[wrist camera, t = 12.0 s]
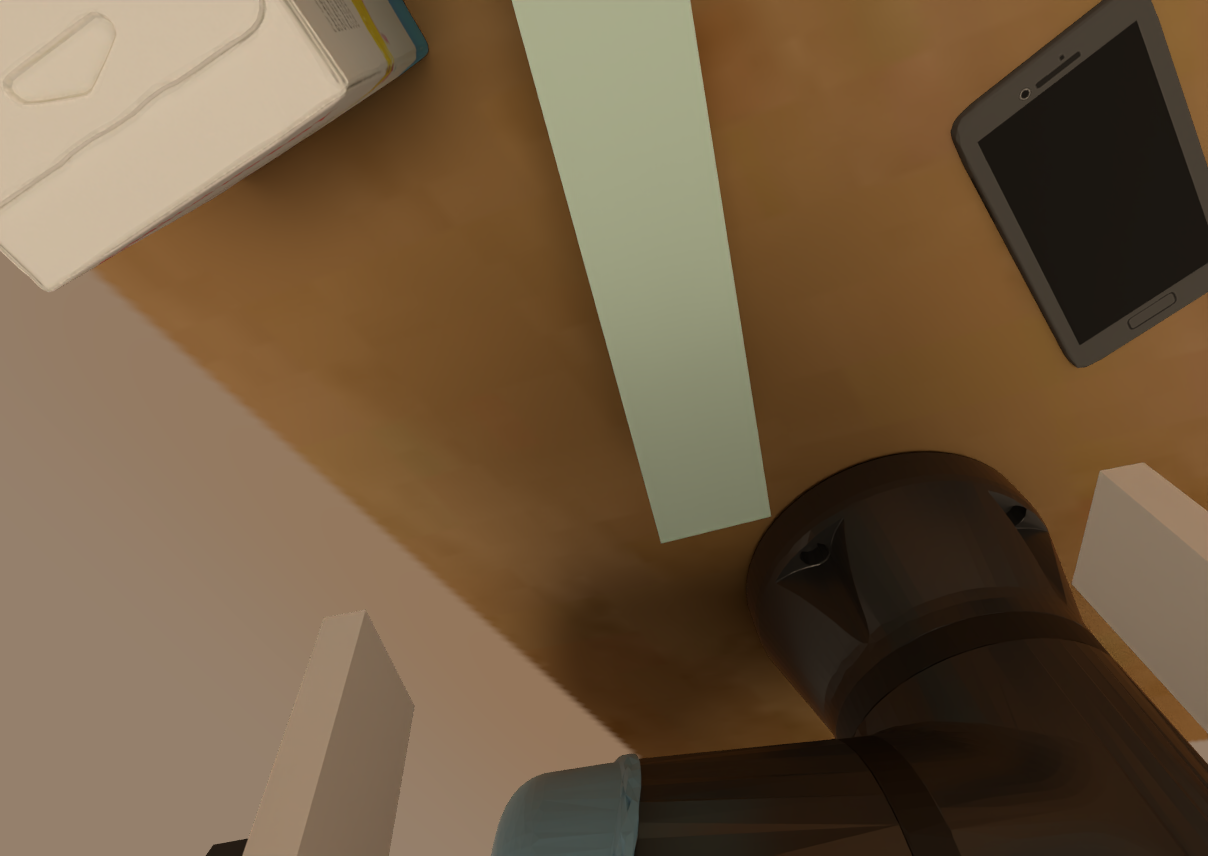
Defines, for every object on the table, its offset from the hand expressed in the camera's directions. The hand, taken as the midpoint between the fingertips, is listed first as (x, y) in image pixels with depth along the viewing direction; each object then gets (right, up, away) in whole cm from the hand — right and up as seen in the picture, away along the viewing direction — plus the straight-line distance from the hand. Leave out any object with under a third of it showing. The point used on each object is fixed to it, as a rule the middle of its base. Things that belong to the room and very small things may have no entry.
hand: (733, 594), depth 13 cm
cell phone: (+17, +12, +16) cm, 26 cm away
